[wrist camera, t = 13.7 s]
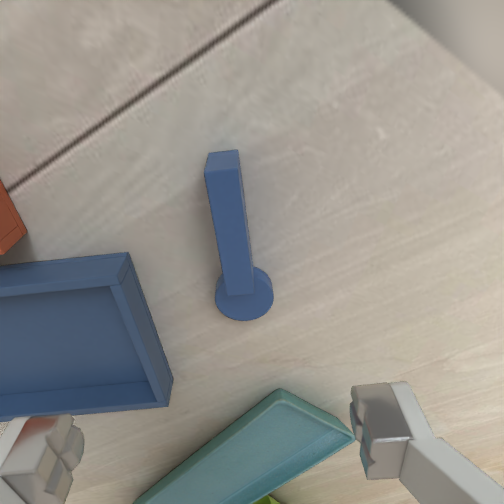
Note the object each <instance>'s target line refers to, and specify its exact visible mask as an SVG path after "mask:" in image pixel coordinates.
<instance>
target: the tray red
mask: <svg viewBox="0 0 504 504" xmlns="http://www.w3.org/2000/svg"><path fill="white" fill-rule="evenodd" d="M26 233H27V230H26V228H25V226H24V224H23V222H22V221H21V219H20V217H19V215H18V213H17V211H16V209H15V207H14V205H13V203H12V201H11V199H10V197H9V196H8V194H7V192H6V190H5V188H4V186H3V184H2V182H1V180H0V255H2V254H5V253H6V252H7V251H8V250H9V249H10V248H11V247H12V246H13V245H14V244H15V243H16V242H17V241H18V240H19V239H20V238H21V237H23V235H25V234H26Z"/></svg>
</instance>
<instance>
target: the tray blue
mask: <svg viewBox="0 0 504 504" xmlns="http://www.w3.org/2000/svg"><path fill="white" fill-rule="evenodd" d="M172 384H173V377H172V374H171V371H170V368H169V365H168V362H167V360H166V357H165V354H164V351H163V348H162V345H161V343H160V340H159V337H158V334H157V331H156V328H155V326H154V323H153V320H152V317H151V314H150V312H149V309H148V306H147V303H146V300H145V297H144V295H143V292H142V289H141V286H140V283H139V280H138V278H137V275H136V272H135V269H134V266H133V263H132V261H131V258H130V255H129V252H124V253H115V254H106V255H96V256H87V257H78V258H68V259H59V260H50V261H40V262H31V263H22V264H12V265H3V266H0V422H8V421H11V420H13V419H14V418H15V417H26V416H40V415H52V414H64V413H70V414H71V416H73V415H84V414H95V413H106V412H116V411H127V410H138V409H149V408H160V407H168V405H169V400H170V395H171V390H172Z"/></svg>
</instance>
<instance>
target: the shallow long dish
mask: <svg viewBox="0 0 504 504" xmlns="http://www.w3.org/2000/svg"><path fill="white" fill-rule="evenodd" d="M355 440H356V439H355V436H354V434H353V433H352V432H351V431H350V430H349V429H348V428H347V427H346V426H345V425H344V424H343V423H342V422H341V421H340V420H339V419H338V418H336V417H334V416H333V415H331V414H329V413H327V412H325V411H323V410H321V409H319V408H317V407H315V406H313V405H311V404H309V403H308V402H306V401H304V400H302V399H300V398H298V397H296V396H295V395H293V394H291V393H289V392H287V391H285V390H283V389H277V390H275V391H274V392H273V393H271V394H270V395H269V396H267V397H266V398H265V399H264V400H262V401H261V402H260V403H258V404H257V405H256V406H255V407H253V408H252V409H251V410H249V411H248V412H247V413H245V414H244V415H243V416H242V417H240V418H239V419H238V420H236V421H235V422H234V423H233V424H231V425H230V426H229V427H227V428H226V429H225V430H223V431H222V432H221V433H220V434H218V435H217V436H216V437H214V438H213V439H212V440H211V441H209V442H208V443H207V444H205V445H204V446H203V447H202V448H200V449H199V450H198V451H197V452H195V453H194V454H193V455H192V456H190V457H189V458H188V459H187V460H185V461H184V462H183V463H181V464H180V465H179V466H178V467H176V468H175V469H174V470H173V471H171V472H170V473H169V474H168V475H166V476H165V477H164V478H163V479H161V480H160V481H159V482H158V483H156V484H155V485H154V486H153V487H151V488H150V489H149V490H148V491H146V492H145V493H144V494H143V495H141V496H140V497H139V498H138V499H137V500H135V501H134V502H133V504H253V503H254V502H256V501H258V500H259V499H261V498H263V497H264V496H266V495H268V494H269V493H271V492H272V491H274V490H276V489H278V488H279V487H281V486H282V485H284V484H286V483H287V482H289V481H291V480H292V479H294V478H296V477H297V476H299V475H300V474H302V473H304V472H305V471H307V470H309V469H310V468H312V467H314V466H315V465H317V464H319V463H320V462H322V461H323V460H325V459H327V458H328V457H330V456H332V455H333V454H335V453H336V452H338V451H340V450H341V449H343V448H344V447H346V446H348V445H349V444H351V443H352V442H354V441H355Z"/></svg>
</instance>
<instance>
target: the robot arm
mask: <svg viewBox="0 0 504 504" xmlns="http://www.w3.org/2000/svg"><path fill="white" fill-rule="evenodd" d="M351 397H352V400H353V401H352V402H351V403H350V418H351V424H352V429H353V433H354V436H355V439H356V440H357V441H359V442H360V443H361V446H360V457H361V461H362V464H363V467H364V471H365V474H366V477H367V480H376V479H393V478H400V479H399V480H400V481H401V483H402V484H403V485H404V486H405V487H406V488H407V489H408V490H409V492H410V493H411V494H412V495H413V496H414V497H415V498H416V499H417V501H418V502H419V503H420V504H504V488H503V487H502V486H501V485H499V484H498V483H497V482H496V481H494V480H493V479H492V478H491V477H490V476H488V475H487V474H486V473H485V472H483V471H482V470H481V469H480V468H478V467H477V466H476V465H475V464H473V463H472V462H471V461H470V460H469V459H467V458H466V457H465V456H464V455H462V454H461V453H460V452H459V451H457V450H456V449H455V448H454V447H452V446H451V445H450V444H449V443H448V442H446V441H445V440H444V439H443V438H436V437H435V435H434V433H433V431H432V429H431V427H430V425H429V423H428V421H427V419H426V417H425V415H424V413H423V411H422V409H421V407H420V405H419V403H418V401H417V399H416V397H415V395H414V393H413V391H412V389H411V387H410V385H409V384H408V383H407V382H406V381H400V382H391V383H376V384H367V385H358V386H352V388H351ZM73 422H74V418H73V417H72V416H71V414H70V413H64V414H52V415H40V416H26V417H15V418H14V419H13V420H11V421H10V422H9V423H8V425H7V426H6V428H5V430H4V431H3V433H2V435H1V437H0V504H64V503H65V501H66V498H67V495H68V493H69V490H70V487H71V485H72V482H73V477H72V473H71V471H72V470H73V469H74V468H75V467H76V466H77V465H78V464H79V463H80V460H81V457H82V454H83V450H84V436H83V433H82V431H81V429H80V428H78V427H76V426H74V425H72V424H73Z"/></svg>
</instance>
